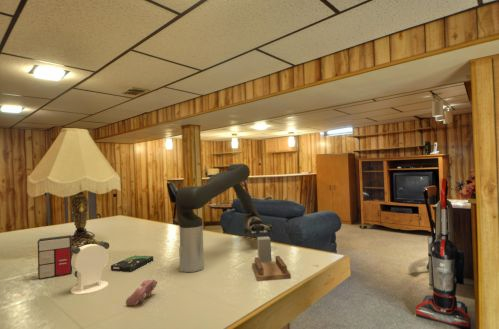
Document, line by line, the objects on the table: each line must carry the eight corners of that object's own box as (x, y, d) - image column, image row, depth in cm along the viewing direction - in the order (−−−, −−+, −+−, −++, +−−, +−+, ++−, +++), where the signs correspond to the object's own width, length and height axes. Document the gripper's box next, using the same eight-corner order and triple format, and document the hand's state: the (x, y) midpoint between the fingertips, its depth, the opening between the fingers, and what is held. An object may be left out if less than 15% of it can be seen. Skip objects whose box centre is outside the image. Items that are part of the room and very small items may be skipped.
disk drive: (131, 273, 114) (153, 261, 129) (131, 266, 114) (153, 255, 129) (110, 272, 117) (134, 260, 132) (110, 265, 117) (134, 254, 132)
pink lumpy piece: (136, 312, 84) (145, 291, 83) (123, 304, 85) (132, 283, 84) (153, 297, 94) (161, 278, 93) (142, 291, 94) (150, 272, 94)
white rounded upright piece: (101, 278, 109) (100, 239, 109) (115, 285, 101) (114, 242, 102) (65, 289, 99) (64, 246, 100) (78, 297, 92) (77, 250, 92)
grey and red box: (37, 280, 110) (37, 240, 110) (40, 276, 113) (39, 238, 114) (71, 274, 115) (70, 236, 115) (72, 271, 118) (71, 234, 119)
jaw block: (259, 264, 119) (258, 239, 119) (258, 260, 124) (257, 237, 124) (271, 263, 119) (270, 239, 119) (269, 259, 124) (268, 236, 124)
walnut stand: (257, 281, 100) (256, 269, 100) (252, 267, 115) (251, 256, 115) (290, 278, 102) (290, 266, 102) (281, 264, 117) (281, 254, 117)
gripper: (241, 219, 149) (244, 225, 133) (268, 217, 151) (274, 223, 135) (242, 233, 149) (245, 241, 133) (269, 231, 151) (275, 239, 135)
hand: (259, 232), depth 134 cm, fingers open, 8 cm apart
